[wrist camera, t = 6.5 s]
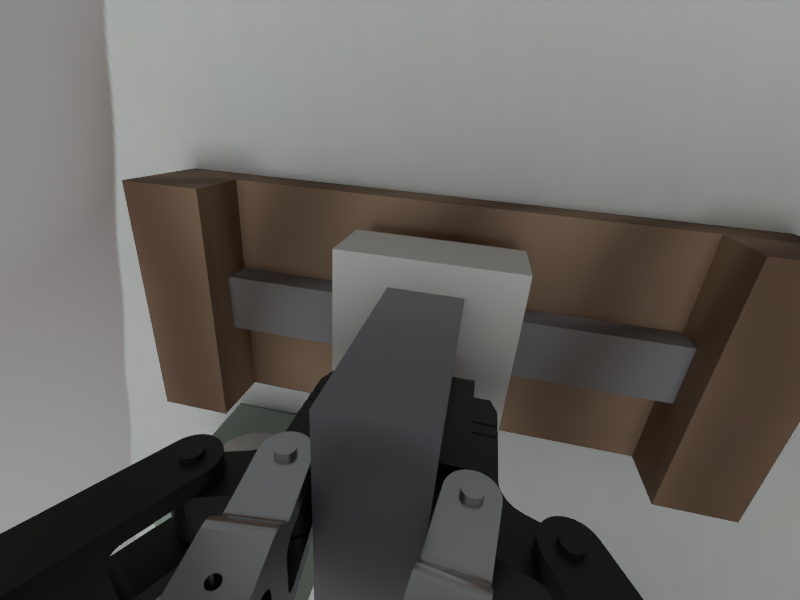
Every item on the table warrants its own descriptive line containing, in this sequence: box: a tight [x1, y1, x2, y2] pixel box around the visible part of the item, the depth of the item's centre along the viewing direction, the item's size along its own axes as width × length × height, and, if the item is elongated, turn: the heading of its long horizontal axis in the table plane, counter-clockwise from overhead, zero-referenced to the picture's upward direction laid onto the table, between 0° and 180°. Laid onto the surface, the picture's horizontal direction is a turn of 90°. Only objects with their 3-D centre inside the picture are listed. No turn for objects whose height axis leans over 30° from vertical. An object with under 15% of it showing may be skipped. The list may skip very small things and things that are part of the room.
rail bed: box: [122, 169, 800, 522], centre depth 17 cm, size 24×10×4 cm, turn 86°
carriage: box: [309, 230, 533, 600], centre depth 12 cm, size 6×8×8 cm
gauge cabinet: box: [155, 404, 314, 600], centre depth 20 cm, size 6×8×10 cm
